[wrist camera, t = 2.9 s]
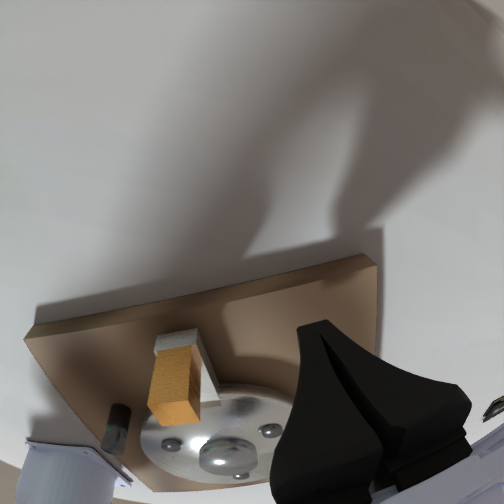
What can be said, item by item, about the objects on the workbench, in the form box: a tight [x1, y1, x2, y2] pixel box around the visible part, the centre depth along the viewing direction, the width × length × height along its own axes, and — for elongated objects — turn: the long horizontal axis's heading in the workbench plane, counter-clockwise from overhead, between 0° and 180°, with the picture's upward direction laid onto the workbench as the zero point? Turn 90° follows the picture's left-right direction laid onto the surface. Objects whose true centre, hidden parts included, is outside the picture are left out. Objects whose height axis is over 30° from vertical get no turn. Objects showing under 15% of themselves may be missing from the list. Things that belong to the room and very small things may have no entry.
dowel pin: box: [101, 403, 132, 455], centre depth 15 cm, size 1×1×3 cm
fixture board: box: [23, 254, 377, 492], centre depth 19 cm, size 20×20×2 cm
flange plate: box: [140, 328, 294, 484], centre depth 15 cm, size 15×11×5 cm
